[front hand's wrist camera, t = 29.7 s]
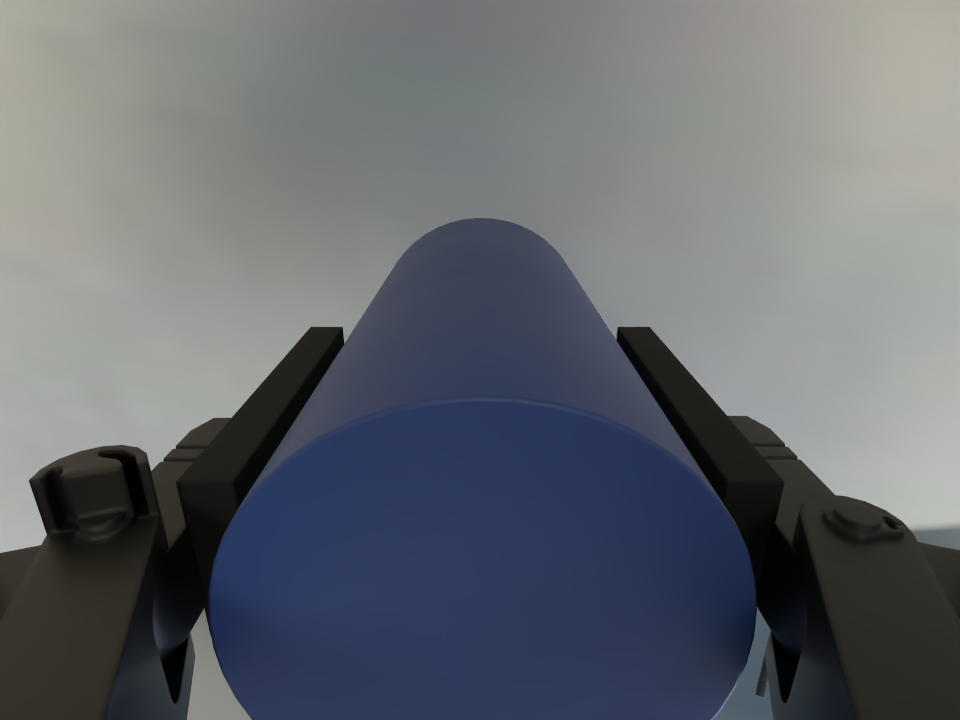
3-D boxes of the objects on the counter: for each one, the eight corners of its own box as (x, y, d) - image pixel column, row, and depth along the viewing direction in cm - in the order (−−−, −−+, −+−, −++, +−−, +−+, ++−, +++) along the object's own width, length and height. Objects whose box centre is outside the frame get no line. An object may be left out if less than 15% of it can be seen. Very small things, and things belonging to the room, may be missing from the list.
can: (577, 405, 20) (721, 813, 8) (390, 410, 20) (257, 821, 8) (584, 214, 18) (804, 388, 6) (372, 221, 18) (146, 405, 6)
